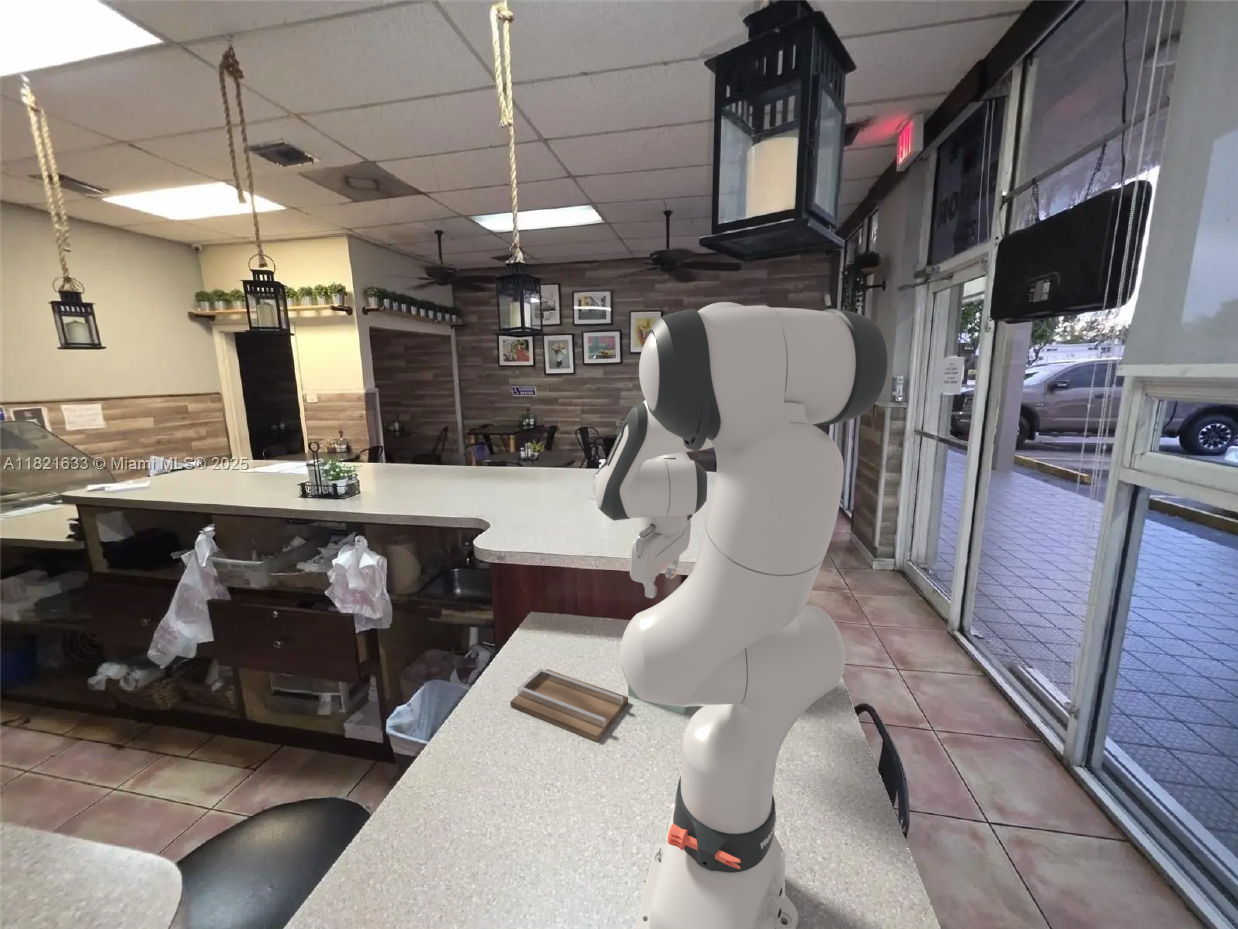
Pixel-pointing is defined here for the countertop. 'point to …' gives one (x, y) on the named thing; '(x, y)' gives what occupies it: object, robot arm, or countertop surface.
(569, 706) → the track rails
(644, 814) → the countertop surface
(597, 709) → the track board
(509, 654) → the countertop surface
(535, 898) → the countertop surface
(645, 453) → the robot arm
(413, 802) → the countertop surface
